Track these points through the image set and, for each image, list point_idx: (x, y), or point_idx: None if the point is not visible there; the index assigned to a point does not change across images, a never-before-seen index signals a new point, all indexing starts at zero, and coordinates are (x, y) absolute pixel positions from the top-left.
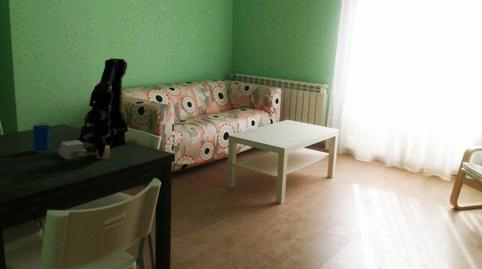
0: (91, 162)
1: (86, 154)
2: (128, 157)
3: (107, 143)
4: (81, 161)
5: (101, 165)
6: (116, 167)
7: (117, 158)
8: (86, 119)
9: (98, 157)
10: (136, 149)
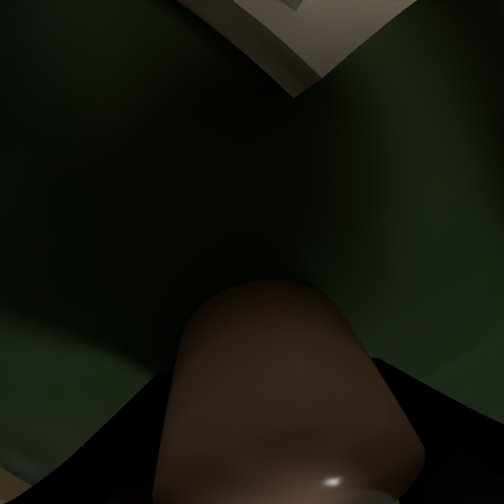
0: (21, 294)
1: (292, 85)
2: None
3: (424, 502)
4: (9, 153)
5: (12, 402)
6: None
7: None
8: None
9: (184, 337)
10: None
